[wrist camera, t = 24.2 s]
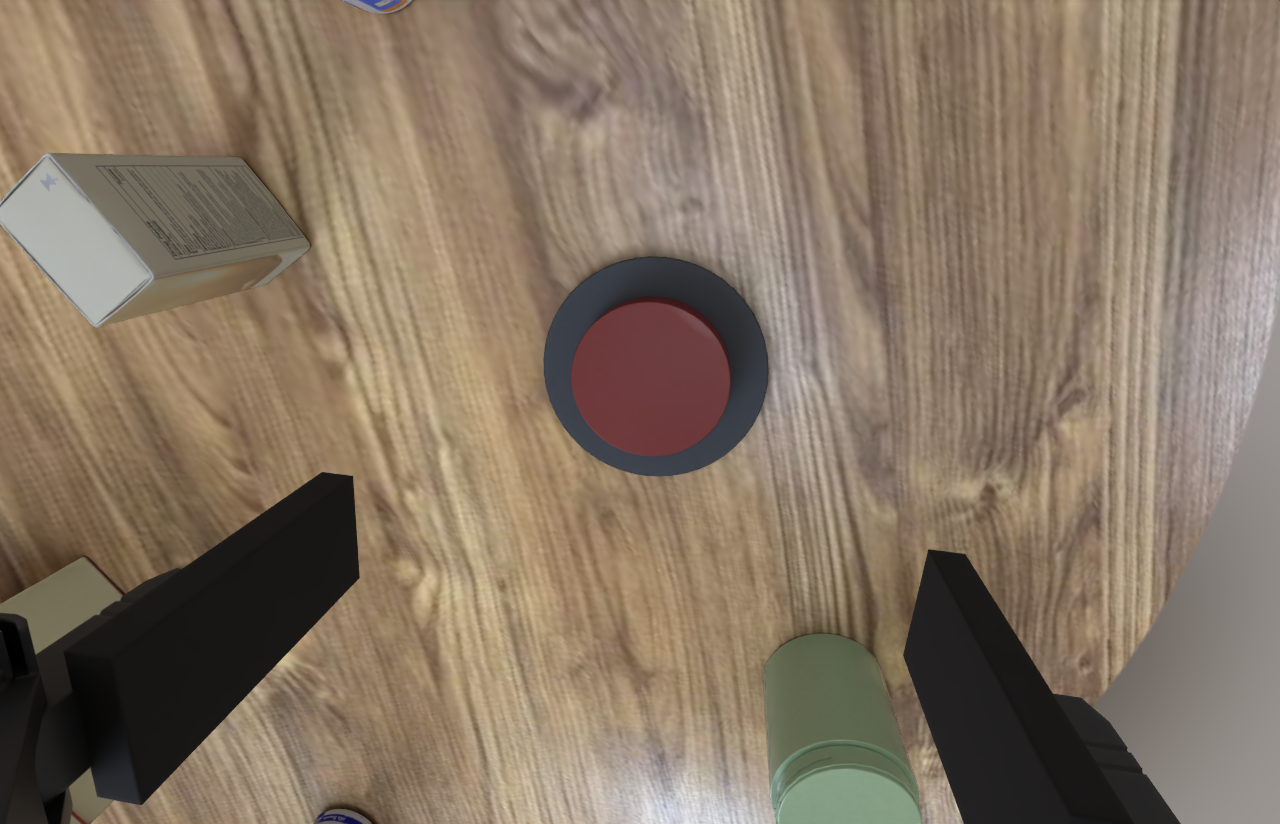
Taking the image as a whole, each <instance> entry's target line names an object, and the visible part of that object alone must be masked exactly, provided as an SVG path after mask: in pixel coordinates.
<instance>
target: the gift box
mask: <svg viewBox="0 0 1280 824" xmlns="http://www.w3.org/2000/svg"><path fill="white" fill-rule="evenodd" d="M122 596H124V594H123V593H122V592H121V591H120V590H119V589H118V588H117V587H116V586H115V585H114V584H113V583H112V582H111V581H110V580H109V579H108V578H107V577H106V576H105V575H104V574H103V573H102V572H101V571H100V570H99V569H98V568H97V567H96V566H95V565H94V564H93V563H92V562H91V561H90V560H89V559H88V558H87V557H82V558H79V559H78V560H76V561H75V562H73V563H71V564H69V565H67V566H65V567H64V568H62V569H60V570H59V571H57V572H55V573H53V574H52V575H50V576H48V577H47V578H45V579H43V580H41V581H40V582H38V583H36V584H34V585H33V586H31V587H29V588H27V589H25V590H24V591H22V592H20V593H18V594H17V595H15V596H13V597H11V598H10V599H8V600H6V601H4V602H3V603H1V604H0V613H10V614H18V615H20V616H22V617H24V618H26V619H27V622H28V626H29V630H30V634H31V638H32V642H33V646H34V650H35V654H37V653H39V652H40V651H42V650H43V649H45V648H46V647H48V646H49V645H51V644H52V643H54V642H55V641H57V640H58V639H60V638H61V637H63V636H64V635H66V634H67V633H69V632H70V631H72V630H73V629H75V628H76V627H78V626H79V625H81V624H82V623H84V622H85V621H87V620H88V619H90V618H91V617H93V616H94V615H99V614H100V613H101V610H103V609H104V608H106V607H107V606H109V605H110V604H112V603H113V602H115V601H120V600H121V597H122ZM69 790H70V794H71V798H72V803H73V807H72V814H71V821H70V824H91V823H92V822H93V821H94V820H95V819H96V818H97V817H98V816H99V815H100V814H101V813H102V812H103V811H104V810H105V809H106V808H107V807H108V806H109V805H110V804H111V803H112V802H113V801H114V800H111V799H106V798H100V797H97V794H96V790H95V785H94V781H93V777H92V772H91V768H89V769H88V770H87V771H86V772H85V773H84V774H83V775H81V776H80V777H79V778H78V779H77V780H76V781H75V782H74V783H73V784H71V785H70V786H69Z"/></svg>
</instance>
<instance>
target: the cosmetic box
mask: <svg viewBox="0 0 1280 824" xmlns="http://www.w3.org/2000/svg"><path fill="white" fill-rule="evenodd" d="M0 224H1V225H2V227H3V228H4V229H5V230H6V231H7V232H8V234H9V235H10V236H11V237H12V238H13V240H14V241H15V242H16V243H17V244H18V245H19V246H20V247H21V248H22V249H23V251H24V252H25V253H26V254H27V255H28V256H29V257H30V259H31V260H32V261H33V262H34V263H35V264H36V265H37V266H38V267H39V269H40V270H41V271H42V272H43V273H44V274H45V275H46V276H47V277H48V278H49V279H50V281H51V282H52V283H53V284H54V285H55V286H56V287H57V288H58V289H59V290H60V291H61V292H62V293H63V295H64V296H65V297H66V298H67V299H68V300H69V301H70V302H71V303H72V304H73V305H74V306H75V307H76V308H77V310H78V311H79V312H80V313H81V314H82V315H83V316H84V317H85V318H86V319H87V320H88V321H89V322H90V323H91V324H92V325H93V326H94V327H100V326H104V325H108V324H112V323H116V322H120V321H124V320H128V319H132V318H136V317H140V316H144V315H148V314H152V313H156V312H160V311H163V310H168V309H172V308H176V307H179V306H184V305H188V304H191V303H196V302H200V301H204V300H207V299H211V298H215V297H219V296H223V295H227V294H231V293H235V292H239V291H243V290H247V289H251V288H255V287H259V286H263V285H265V284H267V283H268V282H269V281H271V280H272V279H273V278H275V277H276V276H277V275H279V274H280V273H281V272H282V271H284V270H285V269H286V268H287V267H288V266H290V265H291V264H292V263H293V262H295V261H296V260H297V259H298V258H299V257H301V256H302V255H303V254H304V253H305V252H306V251H307V250H309V248H310V243H309V242H308V240H307V239H306V238H305V236H304V235H303V234H302V232H301V231H300V230H299V229H298V227H297V226H296V224H295V223H294V222H293V221H292V219H291V218H290V217H289V215H288V214H287V213H286V212H285V210H284V209H283V208H282V207H281V205H280V204H279V203H278V202H277V200H276V199H275V198H274V197H273V195H272V194H271V193H270V192H269V190H268V189H267V188H266V187H265V186H264V184H263V183H262V182H261V181H260V180H259V178H258V177H257V176H256V175H255V174H254V172H253V171H252V170H251V169H250V168H249V166H248V165H247V164H246V163H245V162H244V160H243V159H242V158H240V157H204V156H152V155H113V154H67V153H46V154H45V155H44V156H43V157H42V158H41V159H40V160H39V161H38V162H37V163H36V164H35V165H34V166H33V167H32V168H31V169H30V170H29V171H28V172H27V173H26V174H25V175H24V176H23V178H22V179H21V180H20V181H19V182H18V183H17V184H16V185H15V186H14V187H13V188H12V189H11V190H10V191H9V192H8V193H7V194H6V196H5V197H4V198H3V199H2V201H1V202H0Z"/></svg>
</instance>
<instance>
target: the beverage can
mask: <svg viewBox="0 0 1280 824" xmlns="http://www.w3.org/2000/svg"><path fill="white" fill-rule="evenodd" d="M313 824H372V823H371V822H370V821H369V820H368V819H367V818H365V817H364V816H362V815H360V814H358V813H356V812H354V811H351V810H346V809H333V810H329V811H326V812H324V813H322V814H321V815H319V816H318V817H317V819H316V820H315V822H314V823H313Z"/></svg>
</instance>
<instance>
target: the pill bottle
mask: <svg viewBox="0 0 1280 824" xmlns="http://www.w3.org/2000/svg"><path fill="white" fill-rule="evenodd" d="M342 1H344V2H346V3H349V4H351V5H353V6H355V7H357V8H360V9H362V10H365V11H368V12H372V13H377V14H387V13H392V12H396V11H398V10H400V9H402V8H404V7H405V6H406V5H408V4H409V3H410V2H411V1H412V0H342Z"/></svg>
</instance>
